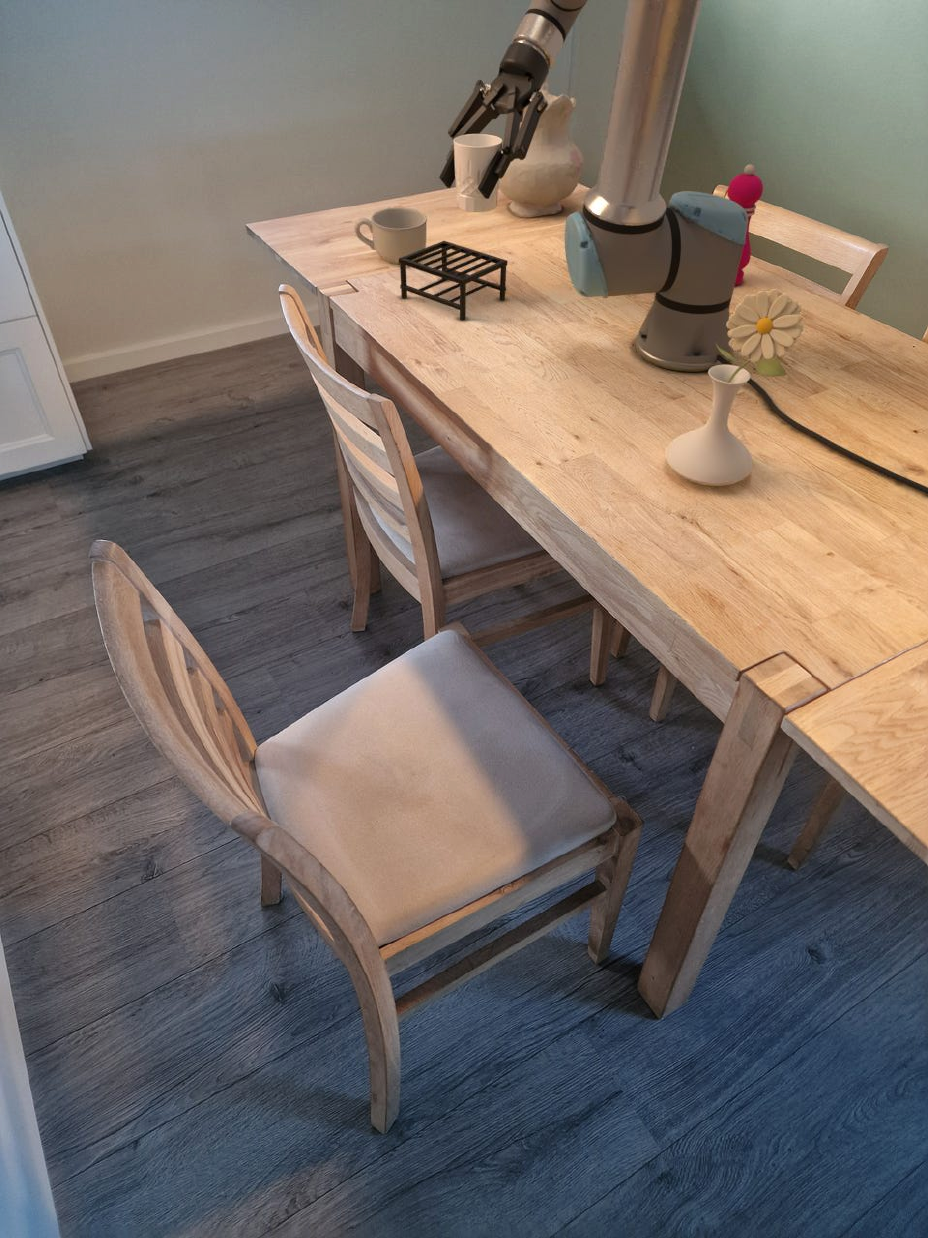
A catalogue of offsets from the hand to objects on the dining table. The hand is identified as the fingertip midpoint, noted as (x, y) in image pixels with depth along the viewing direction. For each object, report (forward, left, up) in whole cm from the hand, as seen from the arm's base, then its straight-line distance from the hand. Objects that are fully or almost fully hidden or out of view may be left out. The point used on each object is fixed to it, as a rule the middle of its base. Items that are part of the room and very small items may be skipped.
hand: (463, 187), depth 137 cm
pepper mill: (-30, -41, -19) cm, 55 cm away
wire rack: (+3, 0, -19) cm, 19 cm away
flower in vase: (-60, +20, -19) cm, 66 cm away
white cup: (0, -3, -4) cm, 5 cm away
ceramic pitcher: (+23, -51, -19) cm, 60 cm away
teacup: (+25, -7, -19) cm, 32 cm away
